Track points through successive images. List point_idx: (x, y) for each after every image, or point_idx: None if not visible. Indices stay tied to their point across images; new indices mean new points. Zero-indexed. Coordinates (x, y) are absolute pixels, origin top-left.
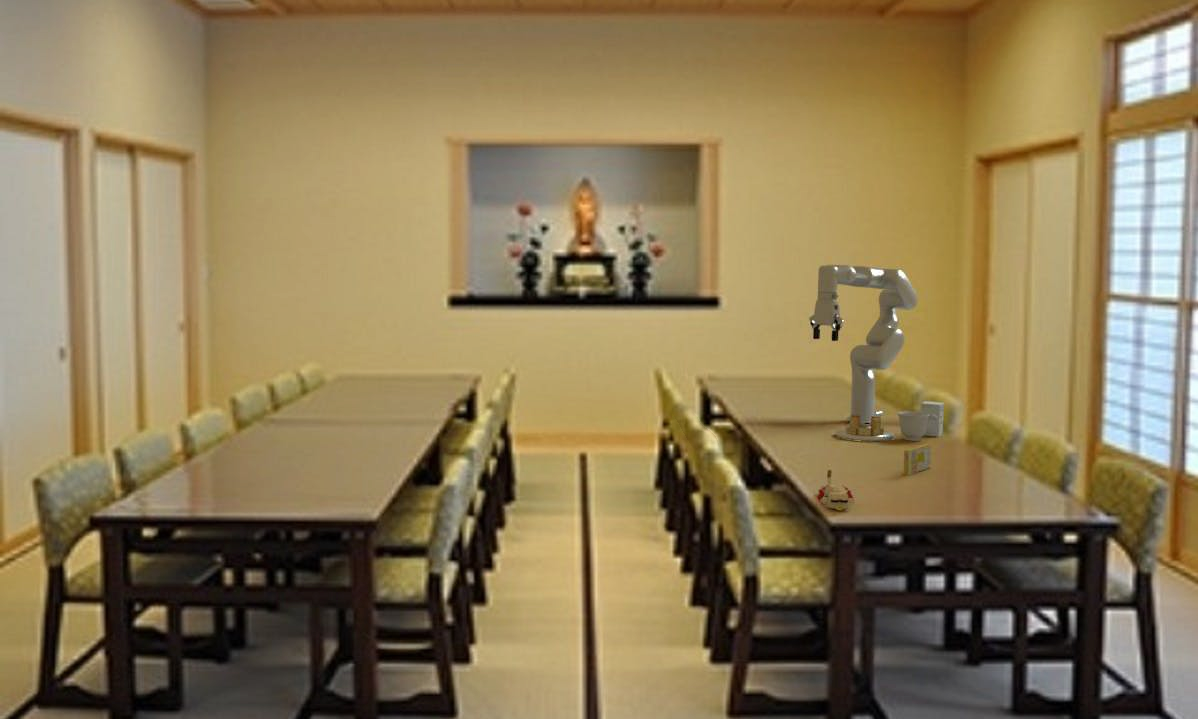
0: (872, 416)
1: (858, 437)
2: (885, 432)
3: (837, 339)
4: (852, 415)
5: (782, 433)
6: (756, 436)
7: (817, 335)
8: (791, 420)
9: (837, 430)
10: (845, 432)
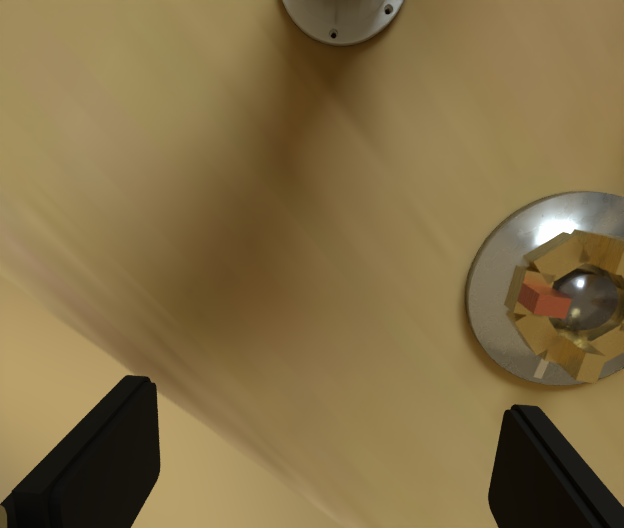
0: (621, 274)
1: (600, 377)
2: (622, 222)
3: (540, 426)
4: (543, 315)
5: (343, 429)
6: (333, 515)
7: (134, 459)
8: (163, 198)
9: (472, 322)
10: (516, 335)
